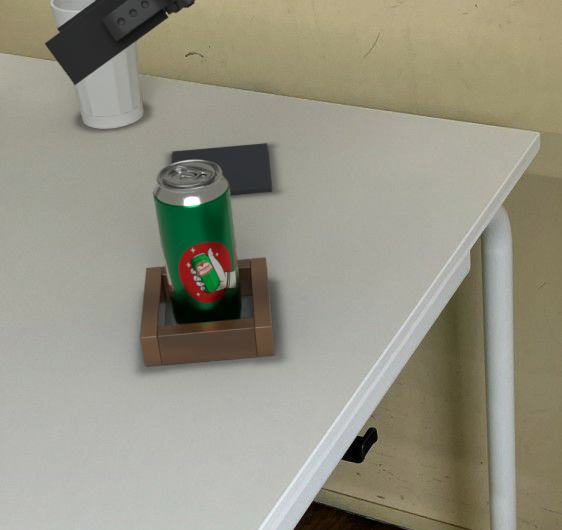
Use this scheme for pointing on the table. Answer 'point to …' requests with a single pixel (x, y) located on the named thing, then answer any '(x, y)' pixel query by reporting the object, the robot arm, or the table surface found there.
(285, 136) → the table surface
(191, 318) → the soda can
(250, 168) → the mat
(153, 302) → the collar stand
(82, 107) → the cup
